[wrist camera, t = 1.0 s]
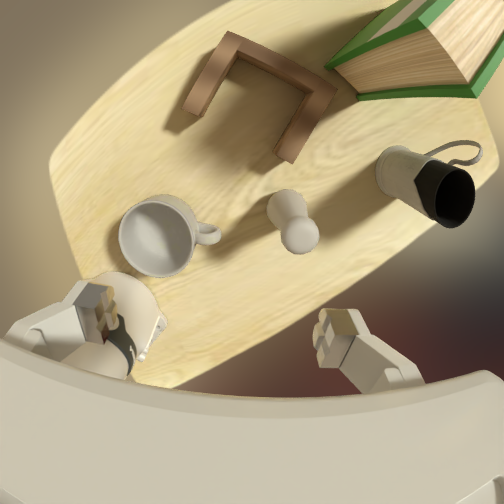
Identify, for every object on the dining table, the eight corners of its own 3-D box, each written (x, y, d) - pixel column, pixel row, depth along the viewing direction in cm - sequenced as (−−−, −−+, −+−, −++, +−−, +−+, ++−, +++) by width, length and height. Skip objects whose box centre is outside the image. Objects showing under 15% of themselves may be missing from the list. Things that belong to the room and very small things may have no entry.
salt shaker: (263, 221, 42) (272, 262, 31) (266, 184, 40) (277, 212, 28) (301, 223, 43) (323, 264, 31) (305, 187, 40) (332, 216, 28)
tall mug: (365, 171, 39) (418, 199, 26) (416, 113, 35) (480, 120, 21) (395, 207, 42) (448, 246, 28) (443, 152, 37) (503, 172, 24)
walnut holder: (286, 159, 38) (292, 164, 34) (187, 110, 34) (181, 108, 30) (327, 92, 34) (337, 89, 30) (229, 40, 30) (227, 30, 26)
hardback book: (360, 101, 34) (476, 98, 13) (323, 66, 32) (417, 18, 10) (417, 40, 28) (524, 19, 7) (386, 8, 26) (482, -39, 5)
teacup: (135, 246, 43) (117, 271, 36) (138, 182, 39) (117, 197, 31) (217, 260, 45) (213, 287, 38) (228, 195, 40) (225, 212, 33)
